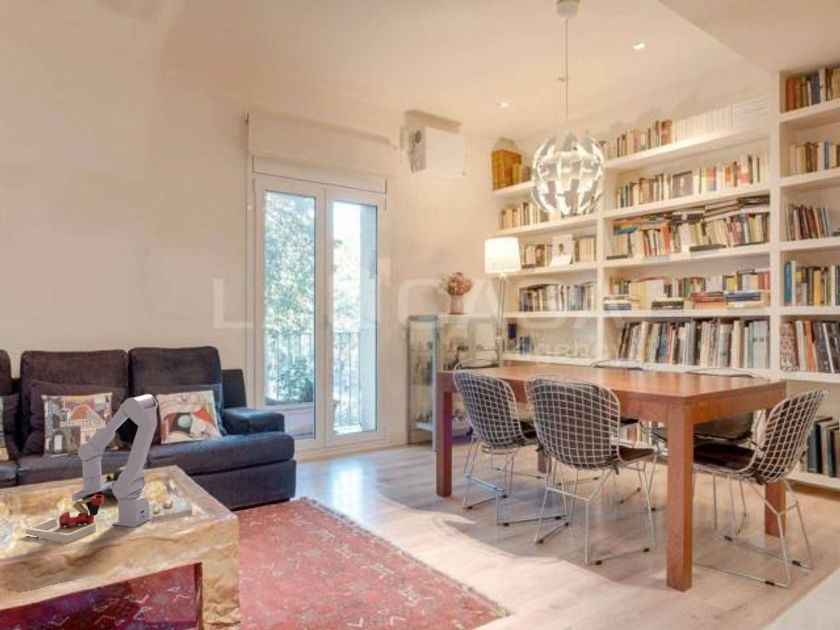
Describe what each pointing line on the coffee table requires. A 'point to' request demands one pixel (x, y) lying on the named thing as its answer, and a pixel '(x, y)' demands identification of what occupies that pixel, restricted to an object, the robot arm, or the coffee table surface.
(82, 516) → the toy fire truck
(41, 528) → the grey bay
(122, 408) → the robot arm
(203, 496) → the coffee table surface
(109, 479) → the dark grey lumpy shape
